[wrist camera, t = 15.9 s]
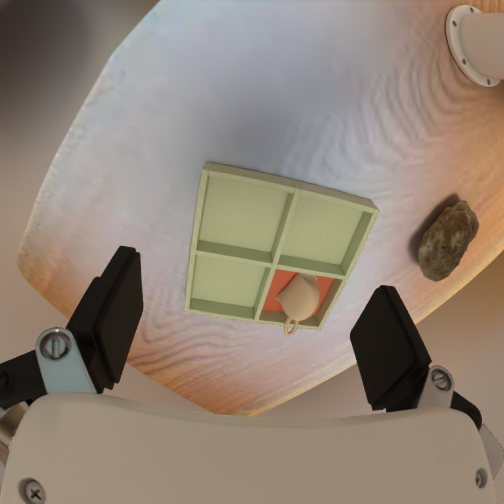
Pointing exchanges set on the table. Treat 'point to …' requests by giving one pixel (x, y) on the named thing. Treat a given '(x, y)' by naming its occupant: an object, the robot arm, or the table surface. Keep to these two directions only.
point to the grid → (270, 244)
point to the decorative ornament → (299, 299)
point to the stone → (447, 241)
